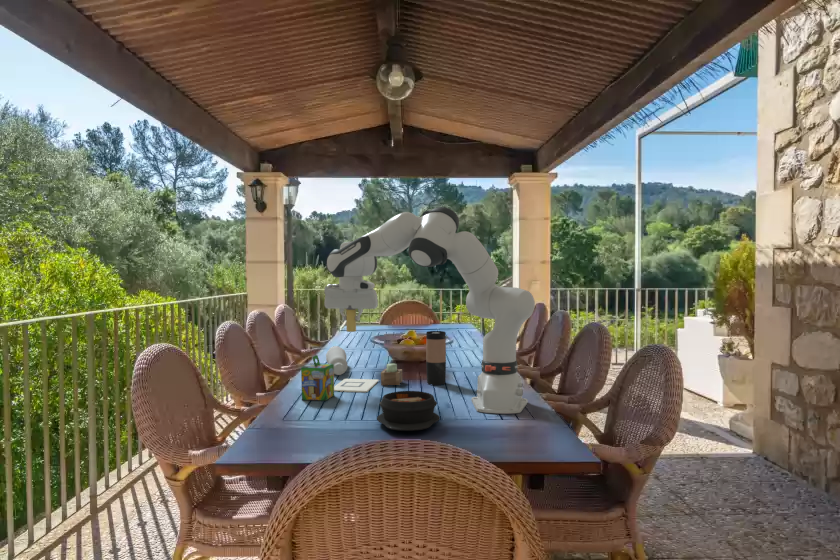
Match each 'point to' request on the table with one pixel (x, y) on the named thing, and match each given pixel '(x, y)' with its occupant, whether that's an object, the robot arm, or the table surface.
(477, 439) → the table surface
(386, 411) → the casserole
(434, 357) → the travel mug
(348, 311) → the spice shaker
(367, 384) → the drawing pad
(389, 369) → the button
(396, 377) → the button housing
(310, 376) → the chalk box
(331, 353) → the bottle
